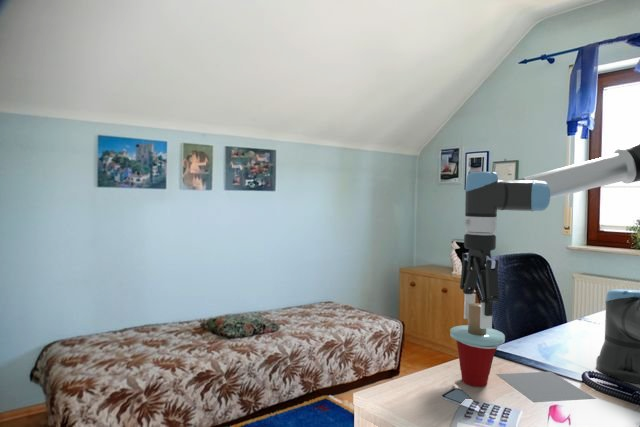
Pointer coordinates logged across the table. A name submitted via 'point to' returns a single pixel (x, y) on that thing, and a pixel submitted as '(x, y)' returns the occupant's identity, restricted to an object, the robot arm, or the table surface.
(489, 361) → the plastic cup
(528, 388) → the mat
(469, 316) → the lid
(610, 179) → the robot arm
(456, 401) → the smartphone
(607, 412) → the table surface
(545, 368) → the table surface
